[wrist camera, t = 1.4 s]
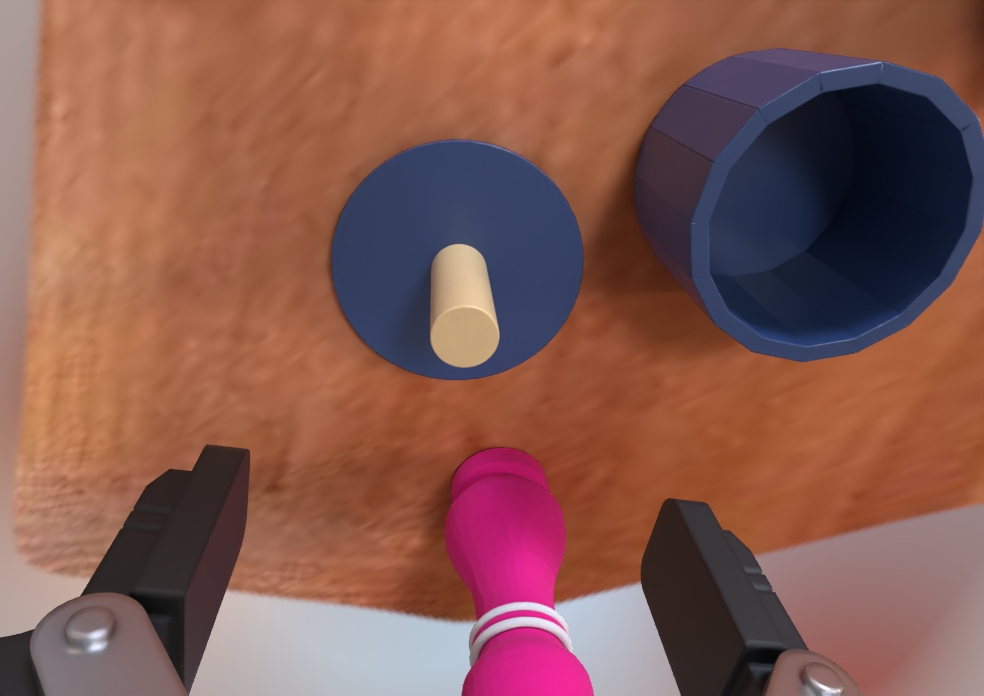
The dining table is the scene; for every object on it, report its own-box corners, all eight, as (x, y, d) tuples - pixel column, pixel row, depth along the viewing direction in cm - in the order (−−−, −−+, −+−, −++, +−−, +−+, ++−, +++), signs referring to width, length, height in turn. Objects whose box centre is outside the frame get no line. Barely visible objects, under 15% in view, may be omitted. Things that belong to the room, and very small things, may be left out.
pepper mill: (509, 419, 43) (561, 711, 25) (575, 490, 46) (663, 797, 28) (420, 481, 45) (411, 797, 27) (489, 546, 48) (521, 871, 30)
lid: (287, 292, 39) (245, 374, 30) (424, 80, 34) (421, 106, 26) (485, 409, 43) (497, 511, 34) (629, 234, 39) (685, 300, 30)
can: (585, 204, 38) (629, 262, 29) (751, -7, 34) (857, -11, 25) (746, 324, 42) (825, 406, 33) (911, 148, 38) (1049, 190, 29)
